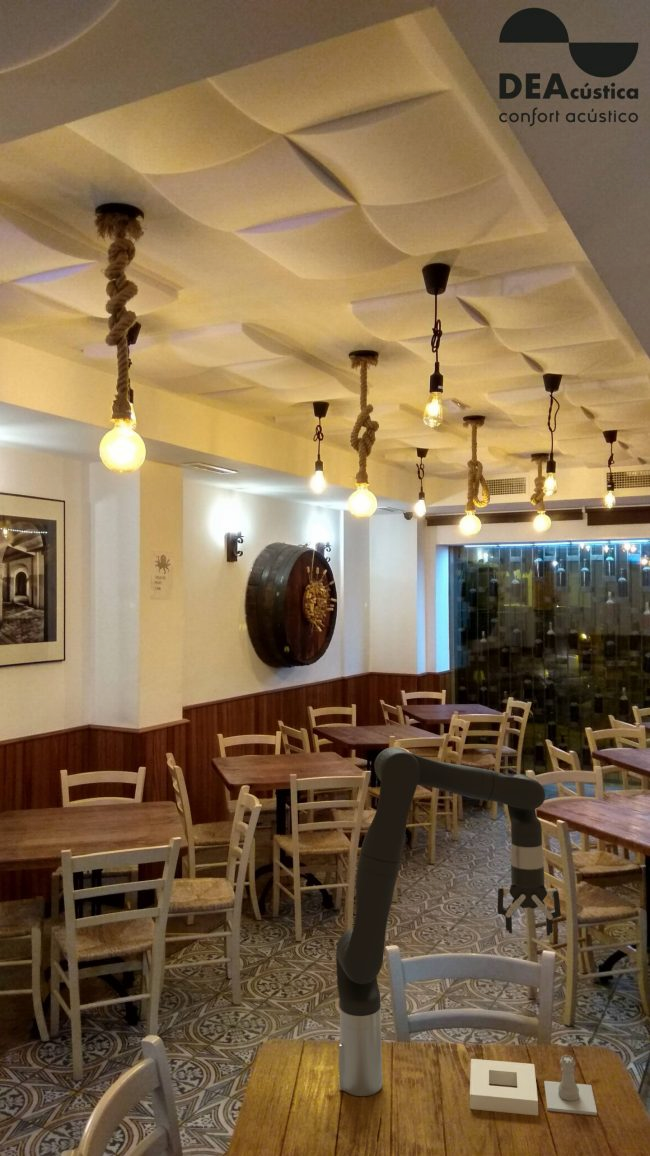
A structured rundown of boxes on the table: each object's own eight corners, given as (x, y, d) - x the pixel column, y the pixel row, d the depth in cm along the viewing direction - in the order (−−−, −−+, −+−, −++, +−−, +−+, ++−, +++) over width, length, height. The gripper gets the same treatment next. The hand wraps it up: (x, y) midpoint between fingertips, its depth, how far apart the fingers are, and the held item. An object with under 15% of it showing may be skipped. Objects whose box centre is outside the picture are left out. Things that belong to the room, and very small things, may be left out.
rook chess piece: (580, 1103, 174) (579, 1064, 174) (558, 1101, 174) (557, 1062, 175) (578, 1091, 178) (577, 1053, 178) (557, 1089, 179) (556, 1051, 179)
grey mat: (547, 1110, 172) (547, 1107, 172) (544, 1083, 182) (544, 1080, 182) (597, 1115, 170) (597, 1112, 170) (591, 1087, 180) (591, 1084, 180)
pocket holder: (470, 1108, 173) (469, 1094, 173) (471, 1072, 187) (471, 1058, 187) (538, 1115, 171) (537, 1100, 171) (534, 1077, 184) (534, 1064, 184)
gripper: (496, 866, 189) (498, 938, 188) (560, 869, 186) (562, 941, 185) (495, 856, 196) (497, 925, 196) (557, 859, 193) (559, 928, 193)
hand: (529, 933), depth 190 cm, fingers open, 8 cm apart
